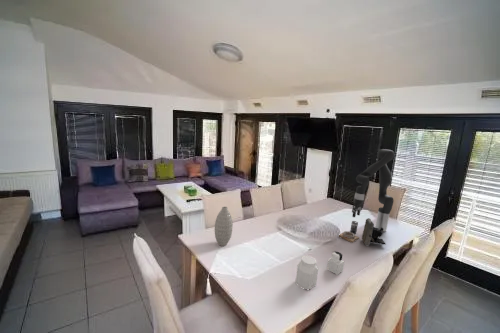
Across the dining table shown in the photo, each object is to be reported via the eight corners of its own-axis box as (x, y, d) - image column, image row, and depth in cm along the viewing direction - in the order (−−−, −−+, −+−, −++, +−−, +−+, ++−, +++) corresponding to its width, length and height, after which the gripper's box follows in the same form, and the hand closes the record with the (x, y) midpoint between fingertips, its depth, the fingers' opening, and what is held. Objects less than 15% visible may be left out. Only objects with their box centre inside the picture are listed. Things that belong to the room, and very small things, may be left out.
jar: (305, 274, 141) (308, 252, 139) (318, 283, 134) (322, 260, 131) (292, 282, 134) (295, 258, 131) (306, 292, 127) (309, 267, 124)
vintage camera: (385, 249, 180) (391, 225, 177) (364, 245, 183) (369, 221, 180) (381, 243, 190) (386, 220, 186) (361, 239, 193) (366, 217, 189)
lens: (351, 230, 208) (353, 220, 206) (357, 233, 204) (359, 222, 202) (348, 232, 205) (350, 221, 203) (354, 234, 201) (356, 223, 199)
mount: (345, 232, 203) (345, 229, 202) (358, 238, 194) (359, 234, 193) (338, 236, 195) (338, 232, 194) (352, 242, 186) (352, 238, 185)
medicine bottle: (332, 265, 153) (335, 248, 151) (342, 271, 148) (345, 254, 146) (326, 269, 149) (329, 252, 147) (336, 275, 144) (339, 257, 141)
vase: (215, 239, 175) (216, 203, 170) (231, 240, 176) (234, 204, 170) (212, 248, 163) (214, 210, 158) (230, 249, 163) (233, 211, 158)
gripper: (358, 195, 206) (355, 213, 209) (351, 198, 197) (347, 216, 200) (367, 198, 201) (363, 215, 204) (359, 200, 191) (356, 219, 194)
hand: (355, 216), depth 202 cm, fingers open, 8 cm apart
